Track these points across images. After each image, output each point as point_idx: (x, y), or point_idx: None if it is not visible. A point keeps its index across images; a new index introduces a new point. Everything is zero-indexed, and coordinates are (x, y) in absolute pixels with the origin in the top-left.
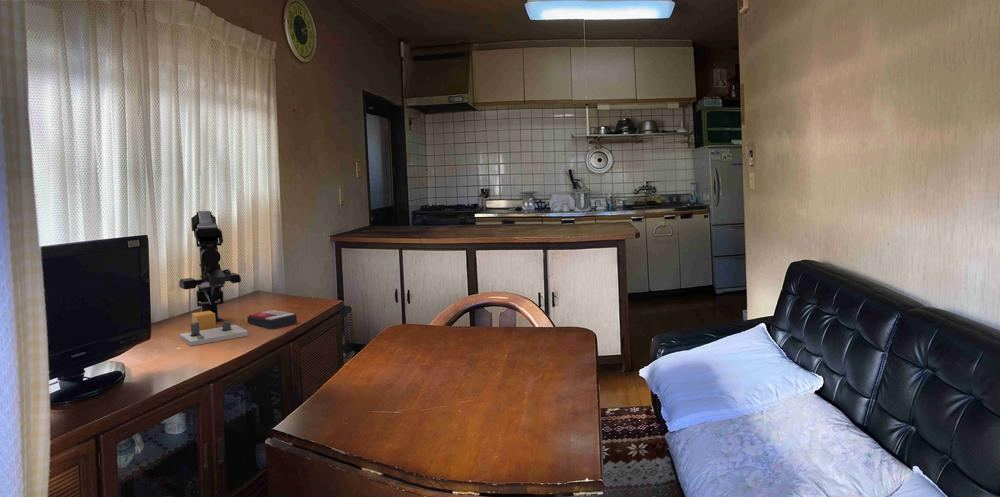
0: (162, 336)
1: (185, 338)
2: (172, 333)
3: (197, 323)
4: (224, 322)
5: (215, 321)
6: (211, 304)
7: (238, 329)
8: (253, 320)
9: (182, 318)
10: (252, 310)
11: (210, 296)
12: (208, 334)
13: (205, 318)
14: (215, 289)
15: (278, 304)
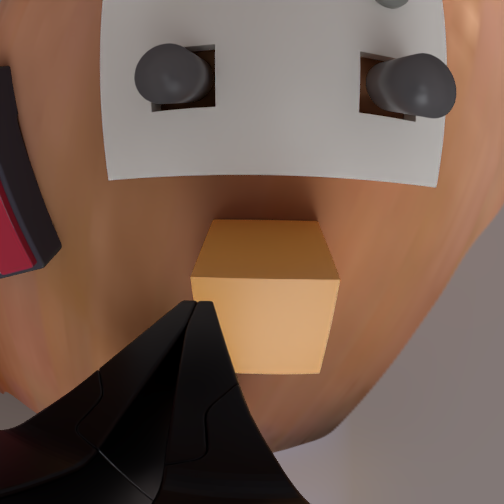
0: (443, 275)
1: None
2: (397, 297)
3: (415, 67)
4: (177, 77)
5: (204, 244)
6: (211, 301)
7: (123, 43)
8: (27, 206)
9: (266, 436)
10: (65, 387)
11: (204, 382)
12: (322, 37)
13: (272, 263)
14: (49, 469)
15: (18, 382)
